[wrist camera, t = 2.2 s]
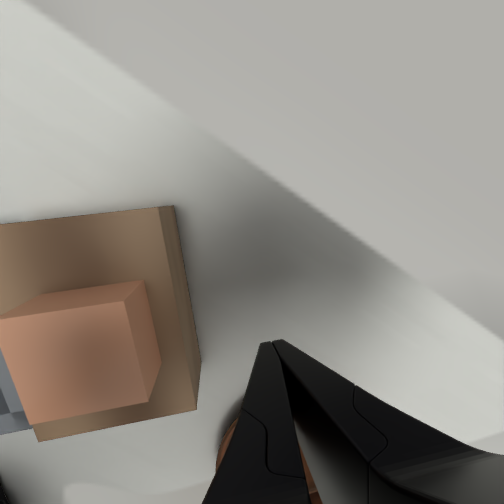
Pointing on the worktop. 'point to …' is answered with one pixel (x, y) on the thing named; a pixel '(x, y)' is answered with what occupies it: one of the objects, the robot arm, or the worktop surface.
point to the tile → (81, 350)
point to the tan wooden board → (105, 273)
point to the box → (10, 403)
